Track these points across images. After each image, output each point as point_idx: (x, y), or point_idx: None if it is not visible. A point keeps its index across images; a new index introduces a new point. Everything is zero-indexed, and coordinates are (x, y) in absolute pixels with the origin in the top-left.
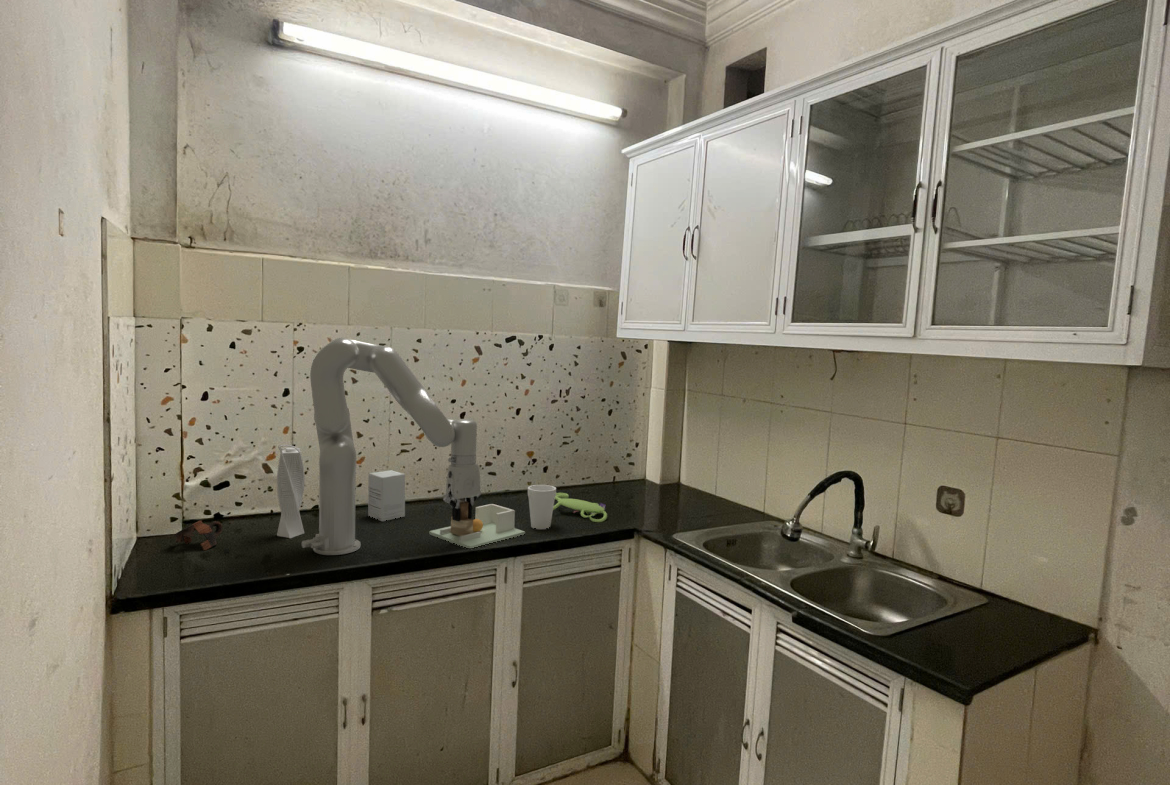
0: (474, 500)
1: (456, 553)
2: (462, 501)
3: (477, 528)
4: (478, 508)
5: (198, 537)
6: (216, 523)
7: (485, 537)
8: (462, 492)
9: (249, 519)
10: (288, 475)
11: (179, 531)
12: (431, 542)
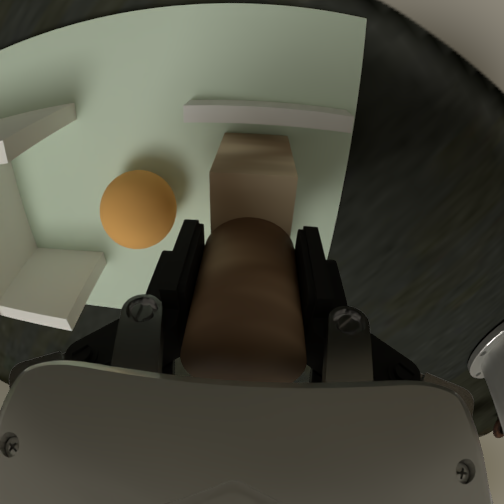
0: (102, 336)
1: (440, 45)
2: (220, 377)
3: (154, 175)
4: (62, 314)
5: (482, 426)
6: (502, 433)
7: (174, 73)
8: (379, 470)
9: None
10: (492, 501)
11: None
12: (386, 239)
